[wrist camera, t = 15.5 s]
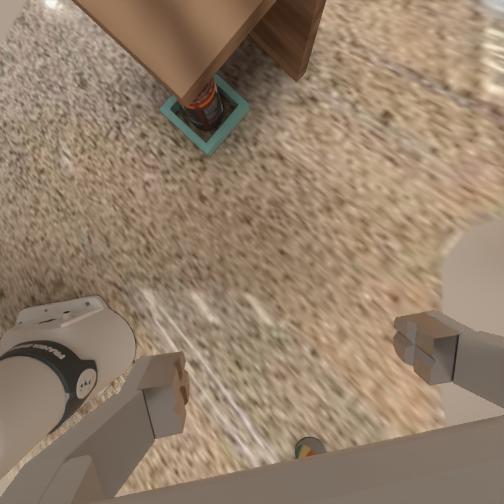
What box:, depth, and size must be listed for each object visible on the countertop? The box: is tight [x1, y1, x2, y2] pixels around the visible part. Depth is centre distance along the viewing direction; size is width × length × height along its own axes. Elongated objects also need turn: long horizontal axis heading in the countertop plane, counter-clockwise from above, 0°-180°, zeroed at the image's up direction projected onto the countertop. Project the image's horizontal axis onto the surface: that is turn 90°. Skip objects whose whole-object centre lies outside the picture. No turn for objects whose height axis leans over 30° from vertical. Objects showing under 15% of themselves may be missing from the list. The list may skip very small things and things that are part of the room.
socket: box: [160, 73, 250, 157], centre depth 39 cm, size 10×10×2 cm
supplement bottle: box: [177, 76, 223, 130], centre depth 35 cm, size 6×6×11 cm
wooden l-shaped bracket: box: [72, 0, 326, 107], centre depth 29 cm, size 21×16×22 cm
